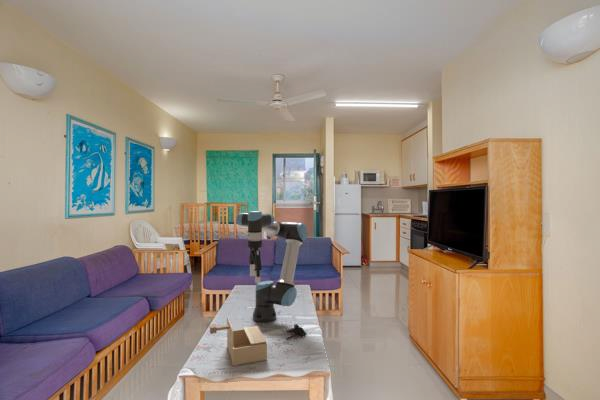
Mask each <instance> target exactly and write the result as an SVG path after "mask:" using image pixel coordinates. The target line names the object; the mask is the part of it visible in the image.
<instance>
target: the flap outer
mask: <svg viewBox="0 0 600 400" xmlns="http://www.w3.org/2000/svg"><path fill="white" fill-rule="evenodd" d="M223 330H226V333H227V332H228V335H229V338H230V341H231V344H232V347H234V338H233V331H234V330H233V326H232V324H231V321H230V318H229V316H228V315H227V316H226V325H219V326H217V325H216V324H210V325H209V335H211V334H217V331H223Z"/></svg>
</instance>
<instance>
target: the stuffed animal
mask: <svg viewBox="0 0 600 400" xmlns="http://www.w3.org/2000/svg"><path fill="white" fill-rule="evenodd" d="M285 332H286V333H287V334H290V335H289V336H288V337H286V338H285V340H286V341H287V340H290V339H293V341H294V340H298V339H302V338H304V337H306V335H307V332H306V331H305V329H304V328H303V327H301V326H300V325H298V323H296V324H294V325H293V328H292V329H286V330H285ZM303 336H304V337H303ZM301 337H302V338H301Z"/></svg>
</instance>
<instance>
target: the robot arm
mask: <svg viewBox="0 0 600 400" xmlns="http://www.w3.org/2000/svg"><path fill="white" fill-rule="evenodd" d="M235 223H236V224H237V225H238V226H241V227H246V228H247V234H246V236H247V239H248V241H247V247H248V248H249V256H248V257H249V259H248V263H249V277H254V284H255V307H254V308H253V309H254V310H253V312H252V320H254V321H255V322H259V323H269V322H272V321H275V320H276V319H277V311H276V308H275V305H278V306H282V307H290V306H292V305H293V304H294V302H295V301H296V298H297V294H298V293H297V289H296V288H295V283H294V278H295V273H296V272H295V271H296V269H297V268H296V267H297V262H298V257H299V253H300V252H299V250H300V247H301V245H303V243H304V241H306V240H307V239H308V233H309V232H308V227H307V225H306V224H305V223H303V222H294V221H293V222H292V221H276V219H275V216H274V215H273V214H272V213H268V212H267V213H266V212H265V213H262V211H260V210H251V211H248V212H239V213H238V214H237V215H236V217H235ZM263 232H266V233H268V234H269V235H271V236H274V237H277V238H280V239H284V240H285V242H286V247H285V253H284V258H283V261H282V267H281V270H280V277H279V279H278V280H277V281H276V284H275V281H273V280H264V281H261V271H262V269H263V268H262V261H261V259H262V258H261V250H259V249H260V248H262V247H263V241H262V240H263Z"/></svg>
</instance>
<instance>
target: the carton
mask: <svg viewBox="0 0 600 400" xmlns="http://www.w3.org/2000/svg"><path fill="white" fill-rule="evenodd" d="M233 338H234V347H232V344H231V341H230V338H229V335H228V332H227V331H226V339H227V340H226V347H227V351H228V354H229V357H230V361H231V364H232V367H238V366H243V365H248V364H253V363H254V364H255V363H259V362H264V361H267V360H268V342H267V340H266V338H265V336H264V335H263V333H262V331H261V330H260V328H259V326H258V325H255V326H245V327H243V328H242V329H234V330H233Z"/></svg>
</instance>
